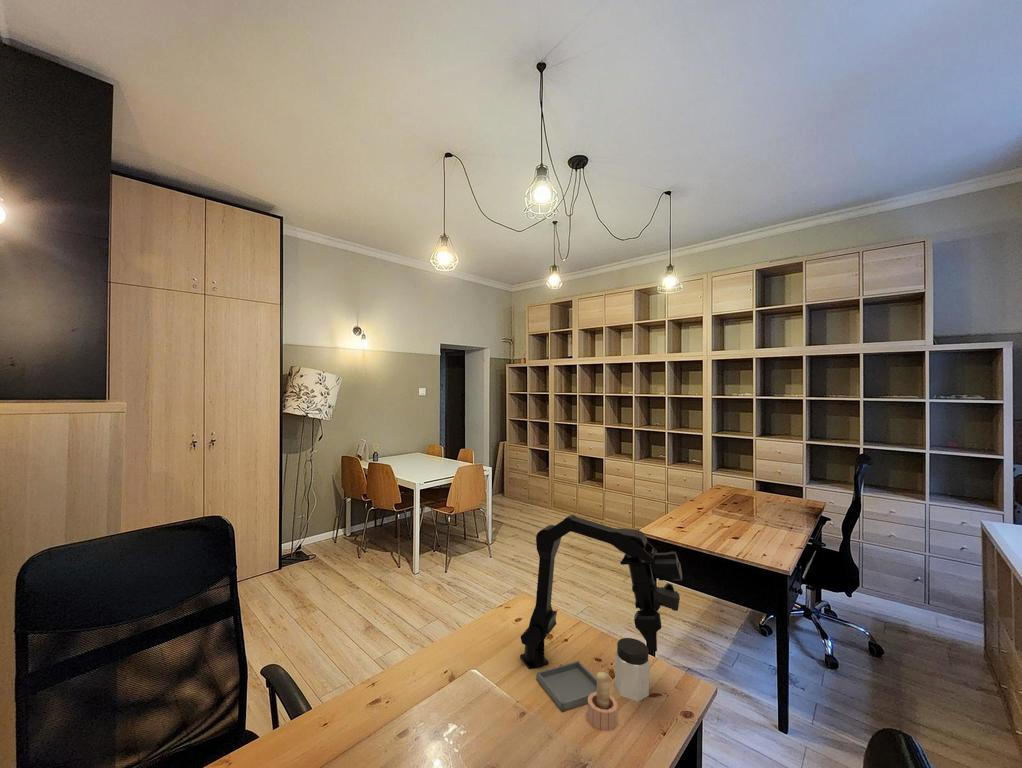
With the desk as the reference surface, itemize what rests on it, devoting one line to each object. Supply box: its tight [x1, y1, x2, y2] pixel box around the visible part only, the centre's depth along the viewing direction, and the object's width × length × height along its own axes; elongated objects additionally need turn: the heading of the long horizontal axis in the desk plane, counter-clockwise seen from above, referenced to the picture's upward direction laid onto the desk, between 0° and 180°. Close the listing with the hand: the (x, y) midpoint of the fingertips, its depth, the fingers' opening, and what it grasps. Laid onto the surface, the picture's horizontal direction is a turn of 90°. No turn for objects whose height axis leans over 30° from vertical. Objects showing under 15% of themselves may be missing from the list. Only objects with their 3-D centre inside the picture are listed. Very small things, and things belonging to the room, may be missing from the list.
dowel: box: [596, 671, 611, 710], centre depth 99 cm, size 3×3×10 cm
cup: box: [586, 692, 619, 731], centre depth 99 cm, size 7×7×4 cm
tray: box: [535, 660, 597, 713], centre depth 110 cm, size 13×14×2 cm
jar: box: [614, 637, 651, 703], centre depth 110 cm, size 9×8×12 cm
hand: (654, 642), depth 107 cm, fingers open, 9 cm apart
